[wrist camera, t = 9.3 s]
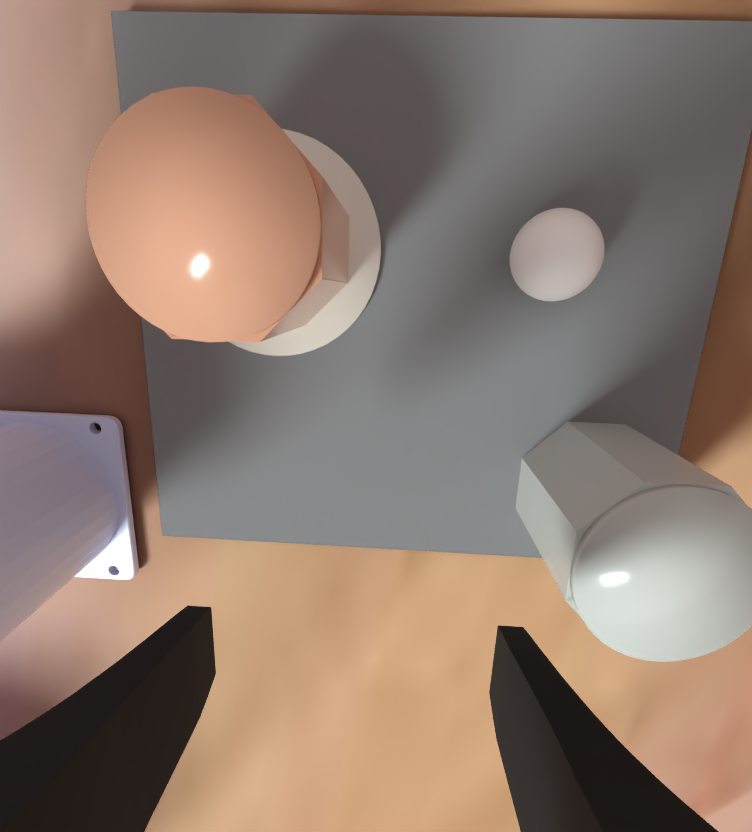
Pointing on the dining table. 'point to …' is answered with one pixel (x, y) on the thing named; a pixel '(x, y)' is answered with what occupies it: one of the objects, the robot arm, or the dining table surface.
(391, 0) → the dining table surface
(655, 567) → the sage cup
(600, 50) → the mat
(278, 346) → the pad
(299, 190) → the tan piece
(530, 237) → the marble
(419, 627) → the dining table surface
